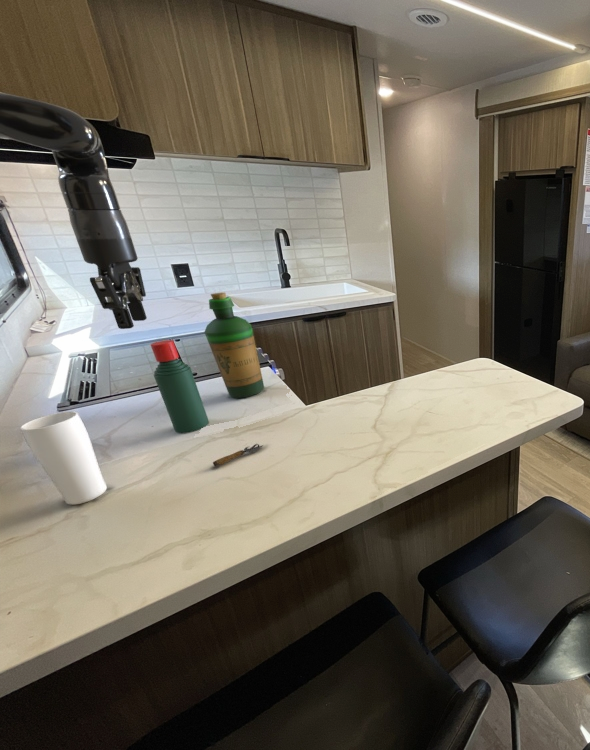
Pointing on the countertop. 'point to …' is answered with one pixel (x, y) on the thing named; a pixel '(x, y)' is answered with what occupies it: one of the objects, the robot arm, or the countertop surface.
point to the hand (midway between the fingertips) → (133, 323)
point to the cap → (164, 350)
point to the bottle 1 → (181, 396)
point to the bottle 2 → (234, 349)
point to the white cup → (66, 455)
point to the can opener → (235, 455)
